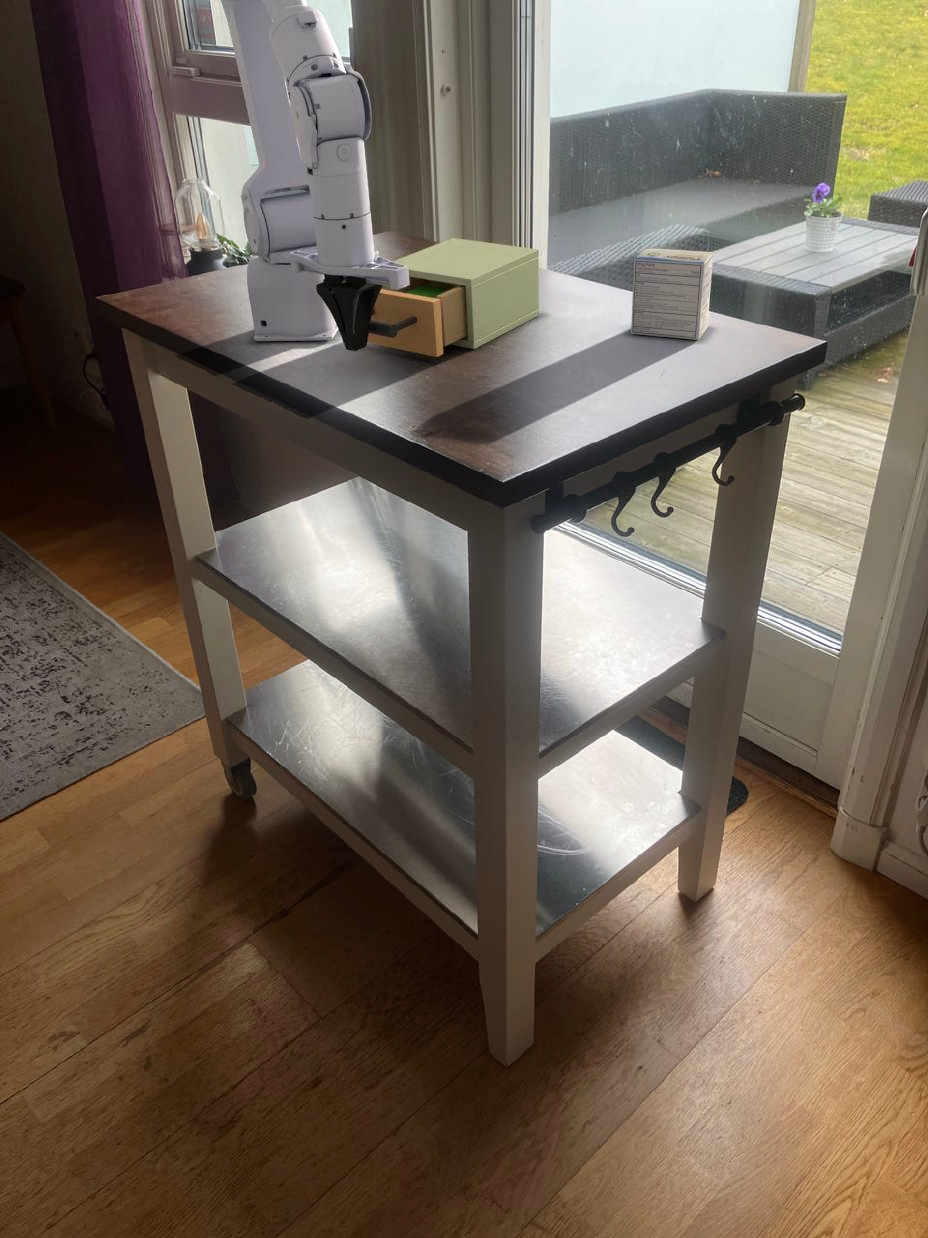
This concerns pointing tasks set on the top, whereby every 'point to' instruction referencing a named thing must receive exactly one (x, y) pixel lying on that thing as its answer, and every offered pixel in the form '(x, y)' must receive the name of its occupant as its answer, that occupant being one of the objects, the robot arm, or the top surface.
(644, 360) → the top surface
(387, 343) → the drawer
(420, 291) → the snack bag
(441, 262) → the cabinet
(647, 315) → the medicine box
